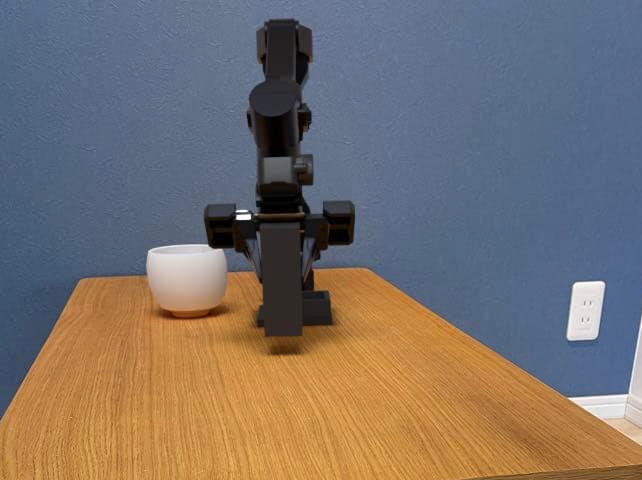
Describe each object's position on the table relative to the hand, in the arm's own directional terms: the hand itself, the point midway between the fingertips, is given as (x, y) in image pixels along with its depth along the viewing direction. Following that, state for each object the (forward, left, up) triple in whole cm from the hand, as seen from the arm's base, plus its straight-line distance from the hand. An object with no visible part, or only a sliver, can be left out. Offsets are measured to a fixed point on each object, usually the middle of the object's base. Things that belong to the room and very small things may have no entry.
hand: (281, 281), depth 105 cm
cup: (-29, +12, -9) cm, 33 cm away
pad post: (-1, +1, -7) cm, 7 cm away
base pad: (-13, +18, -9) cm, 24 cm away
